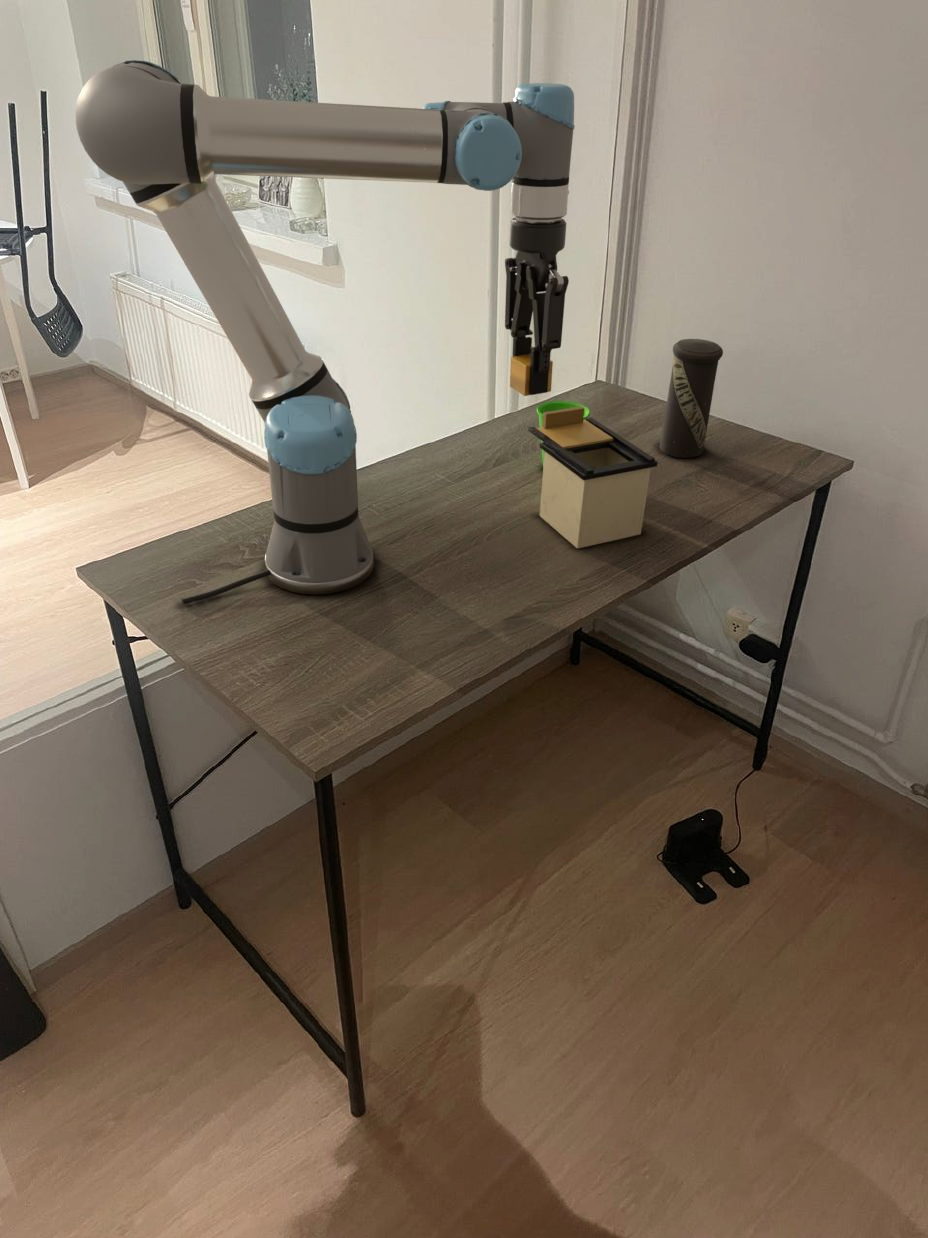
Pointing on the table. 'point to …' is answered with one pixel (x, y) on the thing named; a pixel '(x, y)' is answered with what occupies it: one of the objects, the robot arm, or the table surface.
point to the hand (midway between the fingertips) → (529, 386)
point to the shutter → (571, 428)
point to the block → (524, 374)
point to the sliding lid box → (594, 488)
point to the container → (689, 397)
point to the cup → (557, 406)
